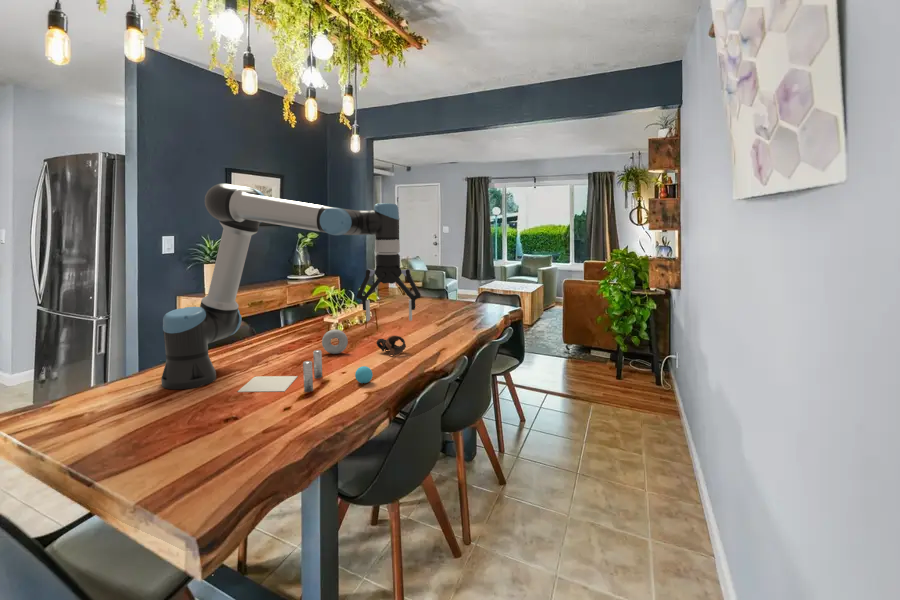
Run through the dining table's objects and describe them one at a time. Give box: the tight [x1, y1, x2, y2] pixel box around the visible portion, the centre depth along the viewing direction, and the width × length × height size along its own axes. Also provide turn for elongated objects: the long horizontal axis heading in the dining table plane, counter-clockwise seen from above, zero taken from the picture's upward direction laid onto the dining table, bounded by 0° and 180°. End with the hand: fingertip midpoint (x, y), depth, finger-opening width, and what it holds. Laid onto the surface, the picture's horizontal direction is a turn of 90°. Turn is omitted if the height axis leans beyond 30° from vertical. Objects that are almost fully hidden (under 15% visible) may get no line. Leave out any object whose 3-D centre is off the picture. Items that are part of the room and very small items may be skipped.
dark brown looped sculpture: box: [376, 335, 407, 356], centre depth 176 cm, size 12×10×8 cm
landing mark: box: [237, 375, 298, 393], centre depth 140 cm, size 14×14×1 cm
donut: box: [321, 328, 349, 355], centre depth 174 cm, size 10×4×10 cm, turn 104°
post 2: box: [312, 349, 323, 379], centre depth 146 cm, size 3×3×9 cm
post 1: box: [302, 360, 314, 393], centre depth 134 cm, size 3×3×9 cm
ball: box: [354, 365, 374, 384], centre depth 141 cm, size 6×6×6 cm
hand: (389, 320), depth 141 cm, fingers open, 13 cm apart
